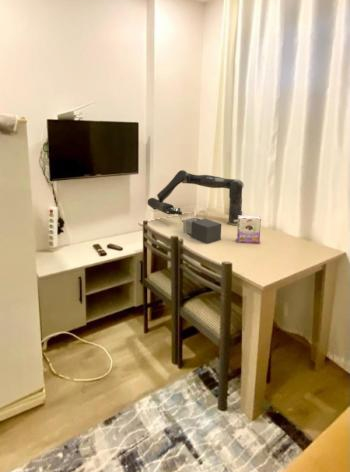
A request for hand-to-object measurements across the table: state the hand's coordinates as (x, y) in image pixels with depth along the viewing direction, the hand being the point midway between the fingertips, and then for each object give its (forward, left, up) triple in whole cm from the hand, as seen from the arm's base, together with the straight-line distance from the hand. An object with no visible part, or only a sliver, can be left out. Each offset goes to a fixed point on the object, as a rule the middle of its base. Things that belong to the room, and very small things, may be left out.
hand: (181, 213), depth 228 cm
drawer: (0, +14, -10) cm, 17 cm away
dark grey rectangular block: (0, +25, -11) cm, 28 cm away
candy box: (-18, +45, -11) cm, 50 cm away
